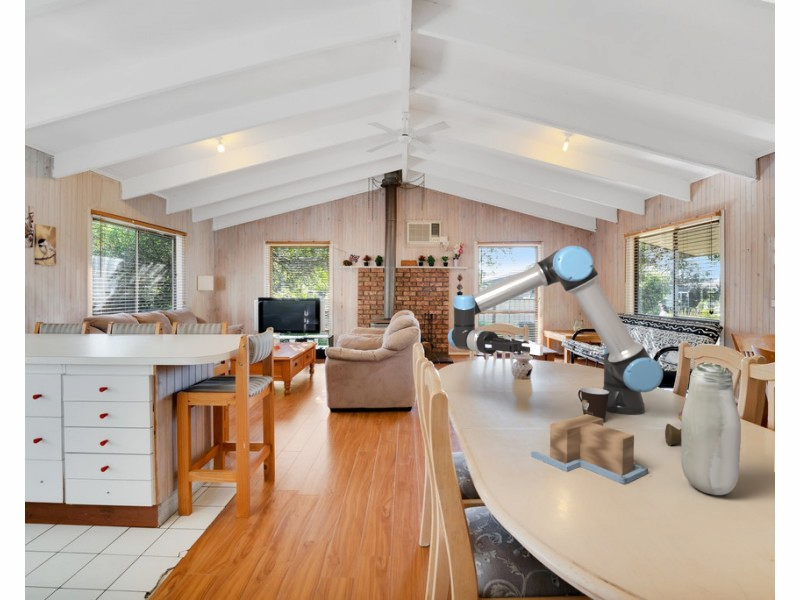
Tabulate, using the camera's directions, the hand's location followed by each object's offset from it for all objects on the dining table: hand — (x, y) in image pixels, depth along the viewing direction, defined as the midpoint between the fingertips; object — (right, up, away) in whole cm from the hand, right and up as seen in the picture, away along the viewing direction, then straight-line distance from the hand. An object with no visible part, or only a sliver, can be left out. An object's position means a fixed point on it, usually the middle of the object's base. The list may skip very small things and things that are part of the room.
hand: (541, 350), depth 117 cm
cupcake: (+50, -27, +8) cm, 58 cm away
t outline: (+9, -27, -13) cm, 31 cm away
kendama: (+39, -27, -6) cm, 48 cm away
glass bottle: (+27, -28, -27) cm, 48 cm away
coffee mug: (+25, -26, +21) cm, 42 cm away
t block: (+10, -27, -13) cm, 32 cm away
